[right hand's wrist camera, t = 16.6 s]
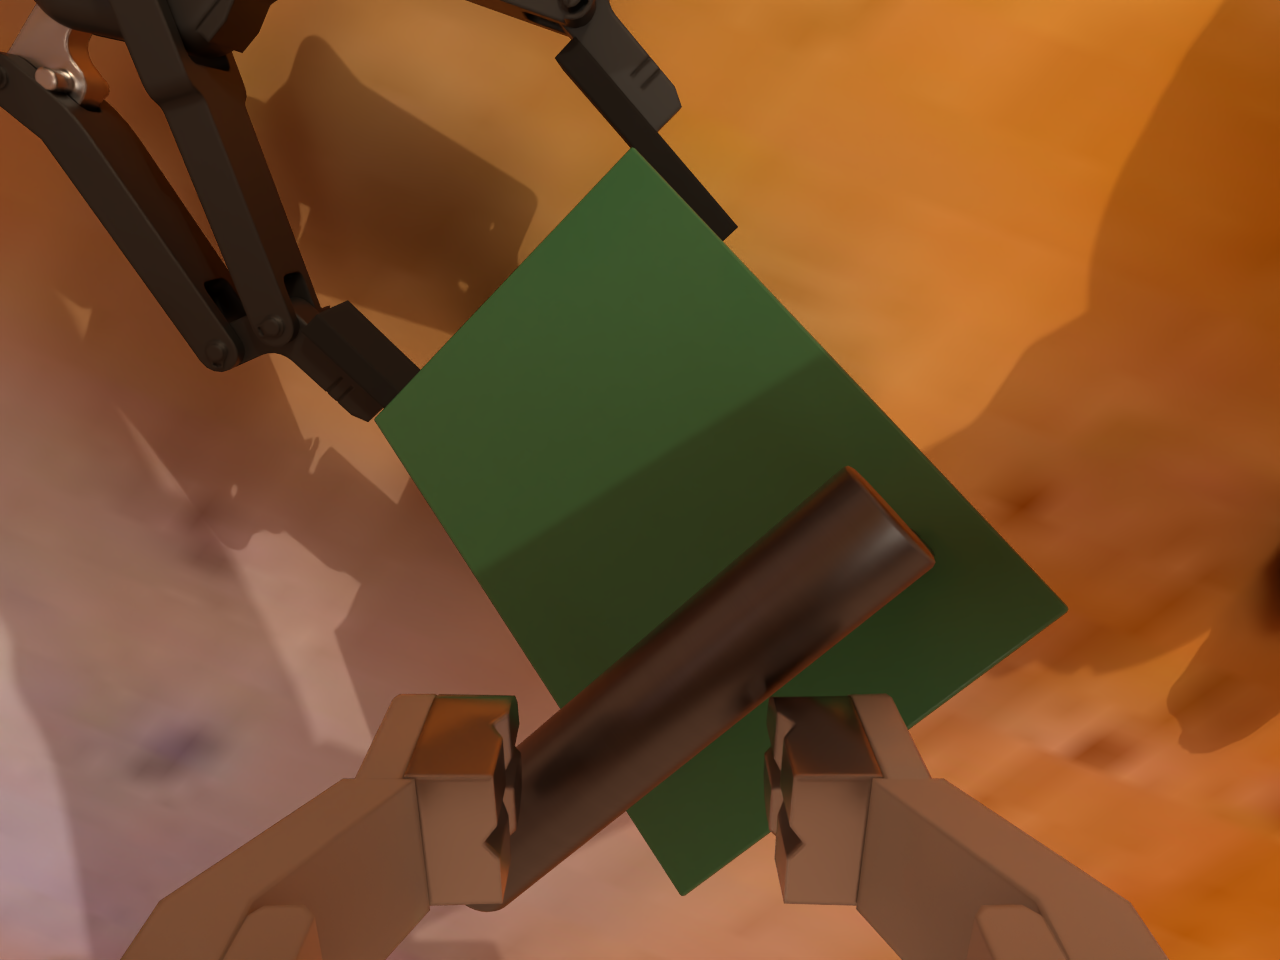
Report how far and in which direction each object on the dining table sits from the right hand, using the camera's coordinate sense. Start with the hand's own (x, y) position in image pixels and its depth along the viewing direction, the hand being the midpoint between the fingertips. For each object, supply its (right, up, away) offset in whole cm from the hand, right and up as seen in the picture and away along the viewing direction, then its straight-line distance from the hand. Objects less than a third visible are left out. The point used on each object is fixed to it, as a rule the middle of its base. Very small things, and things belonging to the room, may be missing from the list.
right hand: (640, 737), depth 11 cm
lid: (+1, +3, +9) cm, 9 cm away
